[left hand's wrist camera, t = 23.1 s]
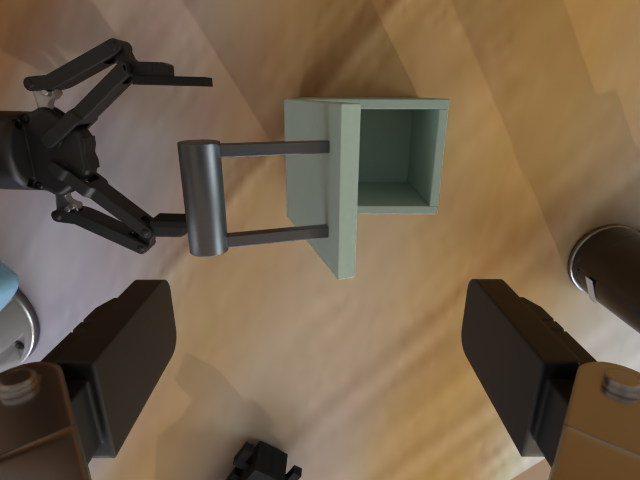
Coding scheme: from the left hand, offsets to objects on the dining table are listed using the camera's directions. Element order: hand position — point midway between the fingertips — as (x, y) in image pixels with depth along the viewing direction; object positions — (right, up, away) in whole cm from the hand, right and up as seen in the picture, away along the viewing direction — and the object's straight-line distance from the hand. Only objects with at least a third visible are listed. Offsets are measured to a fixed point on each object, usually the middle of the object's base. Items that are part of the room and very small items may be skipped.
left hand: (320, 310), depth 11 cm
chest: (+4, +13, +35) cm, 38 cm away
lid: (0, +7, +18) cm, 19 cm away
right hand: (-10, +10, +29) cm, 32 cm away
